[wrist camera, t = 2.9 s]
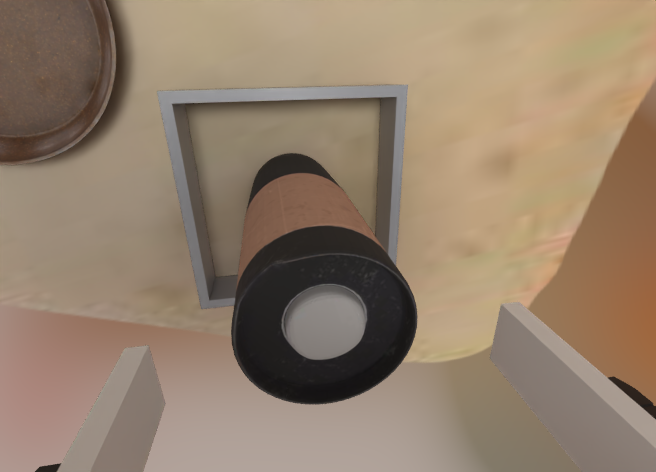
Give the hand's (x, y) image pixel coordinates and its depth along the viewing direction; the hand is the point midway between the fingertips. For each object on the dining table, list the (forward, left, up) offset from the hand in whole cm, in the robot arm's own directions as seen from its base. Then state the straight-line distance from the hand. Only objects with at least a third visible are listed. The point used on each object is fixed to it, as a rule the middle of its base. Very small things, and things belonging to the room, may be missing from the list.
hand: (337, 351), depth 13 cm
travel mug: (0, 0, -21) cm, 21 cm away
